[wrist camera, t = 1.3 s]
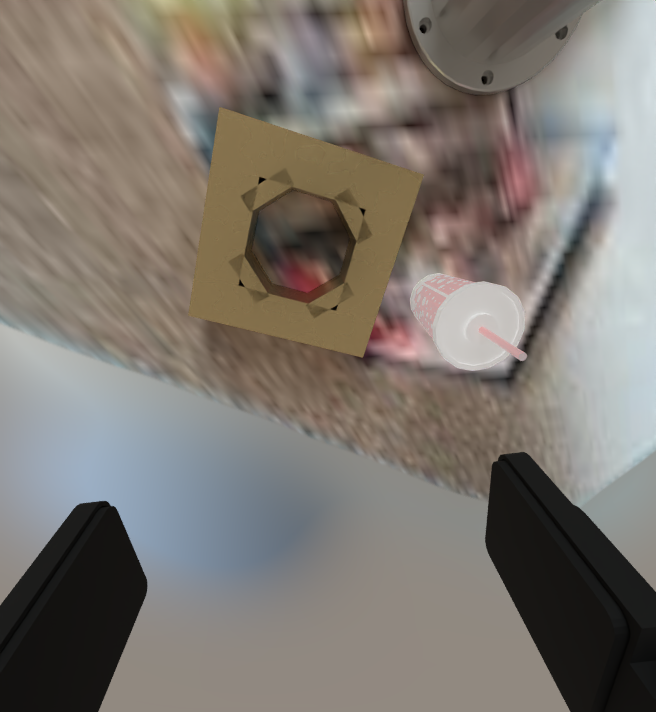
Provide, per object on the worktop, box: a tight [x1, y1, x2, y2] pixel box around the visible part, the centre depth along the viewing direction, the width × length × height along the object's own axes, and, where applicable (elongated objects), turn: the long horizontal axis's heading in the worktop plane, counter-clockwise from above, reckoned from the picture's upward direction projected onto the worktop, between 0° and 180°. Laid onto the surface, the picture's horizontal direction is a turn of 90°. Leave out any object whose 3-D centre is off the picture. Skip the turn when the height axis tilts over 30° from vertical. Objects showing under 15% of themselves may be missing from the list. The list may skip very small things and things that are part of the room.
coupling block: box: [188, 107, 424, 357], centre depth 28 cm, size 14×14×4 cm
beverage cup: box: [410, 273, 527, 371], centre depth 26 cm, size 6×6×14 cm
